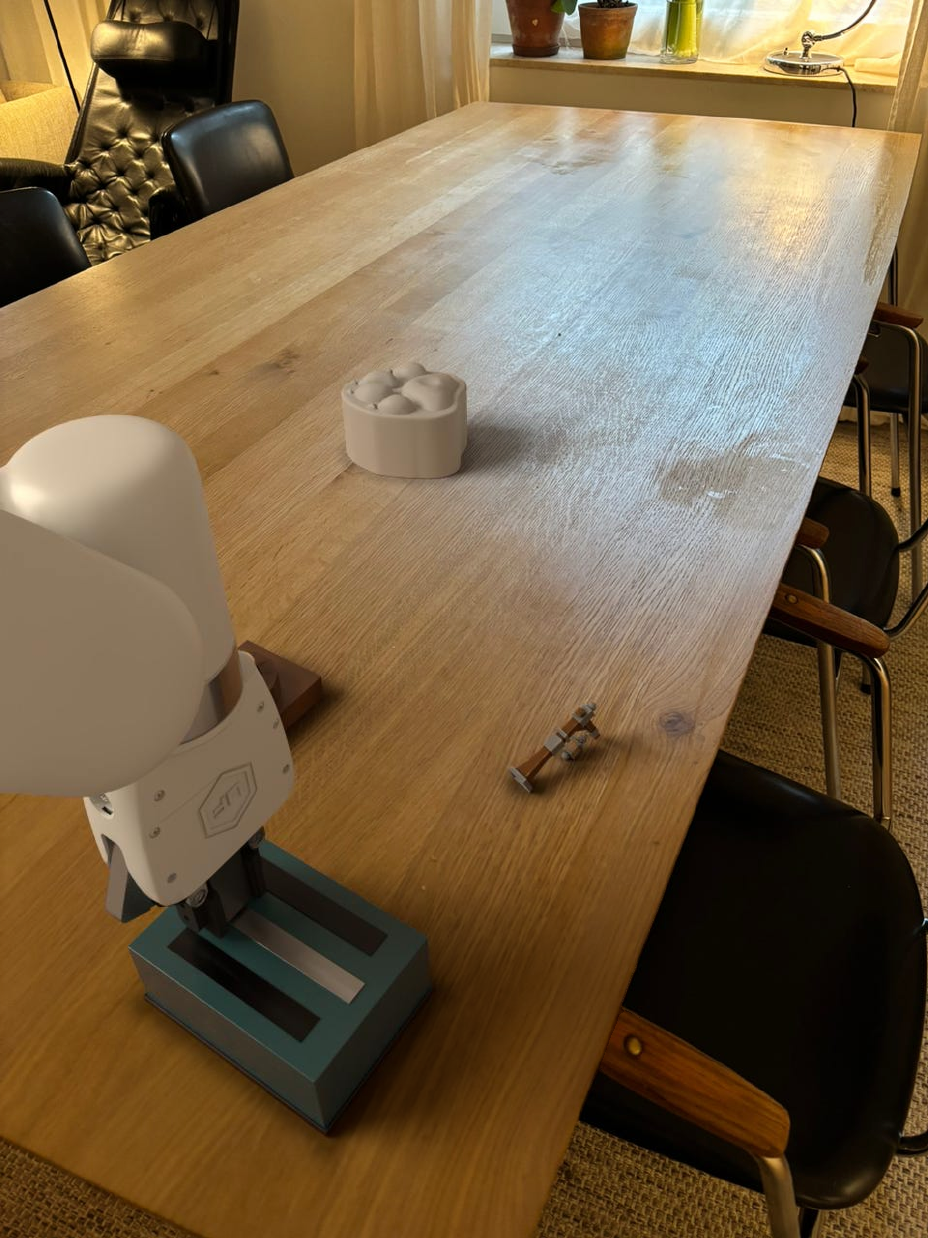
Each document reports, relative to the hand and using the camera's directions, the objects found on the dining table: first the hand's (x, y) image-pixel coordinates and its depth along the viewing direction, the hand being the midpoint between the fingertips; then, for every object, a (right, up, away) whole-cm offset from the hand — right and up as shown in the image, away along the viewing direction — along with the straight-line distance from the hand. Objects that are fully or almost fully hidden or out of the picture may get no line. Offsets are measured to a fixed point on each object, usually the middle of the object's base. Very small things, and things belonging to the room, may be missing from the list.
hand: (225, 902), depth 58 cm
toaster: (+3, -6, +3) cm, 8 cm away
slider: (0, 0, 0) cm, 0 cm away
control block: (-3, +9, +21) cm, 23 cm away
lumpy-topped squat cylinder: (+8, +35, +51) cm, 62 cm away
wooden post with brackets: (+21, +6, +17) cm, 27 cm away
